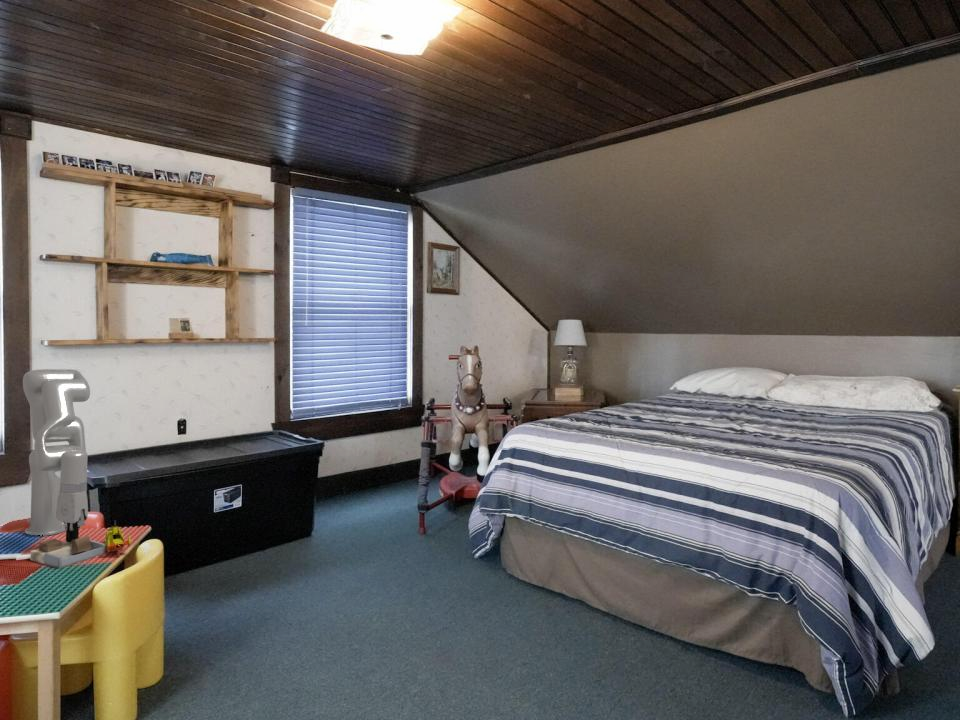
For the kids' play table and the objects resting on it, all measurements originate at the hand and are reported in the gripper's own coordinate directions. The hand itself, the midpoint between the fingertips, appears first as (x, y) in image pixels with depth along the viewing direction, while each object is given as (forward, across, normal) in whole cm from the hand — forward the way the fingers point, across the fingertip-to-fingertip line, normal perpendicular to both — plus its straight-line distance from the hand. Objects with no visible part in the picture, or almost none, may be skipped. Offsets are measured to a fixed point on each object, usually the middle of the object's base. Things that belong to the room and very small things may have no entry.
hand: (72, 540), depth 205 cm
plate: (+4, 0, -3) cm, 5 cm away
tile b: (+1, 0, -7) cm, 7 cm away
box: (+4, +7, -3) cm, 9 cm away
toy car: (+4, +9, +9) cm, 13 cm away
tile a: (+1, +3, 0) cm, 4 cm away
